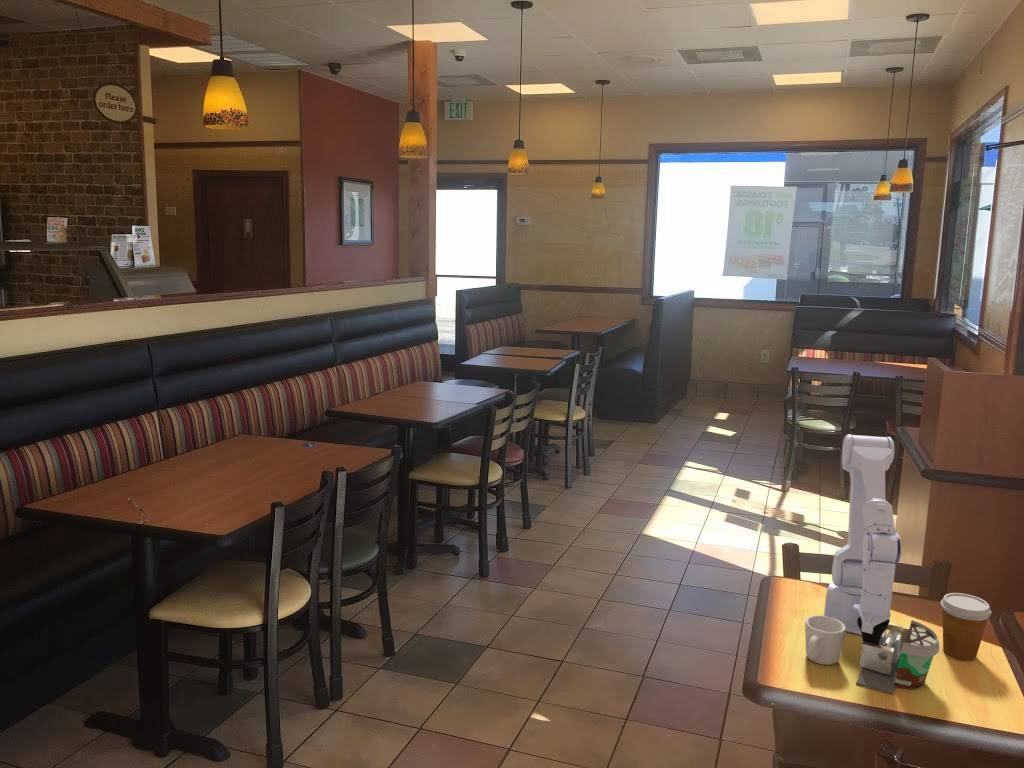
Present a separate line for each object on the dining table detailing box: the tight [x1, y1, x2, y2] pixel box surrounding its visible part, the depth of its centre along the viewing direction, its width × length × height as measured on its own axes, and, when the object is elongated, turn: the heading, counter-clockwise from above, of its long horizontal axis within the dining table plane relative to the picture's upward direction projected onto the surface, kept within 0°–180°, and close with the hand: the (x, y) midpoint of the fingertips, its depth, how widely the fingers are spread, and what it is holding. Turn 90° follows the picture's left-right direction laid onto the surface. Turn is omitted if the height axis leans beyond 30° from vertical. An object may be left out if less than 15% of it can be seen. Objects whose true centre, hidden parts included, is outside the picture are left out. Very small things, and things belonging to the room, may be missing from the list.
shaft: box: [859, 630, 898, 675], centre depth 178 cm, size 6×13×5 cm, turn 147°
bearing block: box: [879, 629, 902, 663], centre depth 179 cm, size 4×4×6 cm
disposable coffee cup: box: [940, 592, 992, 662], centre depth 181 cm, size 10×10×12 cm
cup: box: [804, 615, 847, 666], centre depth 177 cm, size 11×8×8 cm
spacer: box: [879, 621, 910, 652], centre depth 181 cm, size 6×1×5 cm, turn 57°
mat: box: [855, 652, 901, 696], centre depth 176 cm, size 7×21×1 cm, turn 147°
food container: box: [894, 619, 940, 690], centre depth 170 cm, size 12×6×10 cm, turn 148°
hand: (869, 651), depth 176 cm, fingers closed
